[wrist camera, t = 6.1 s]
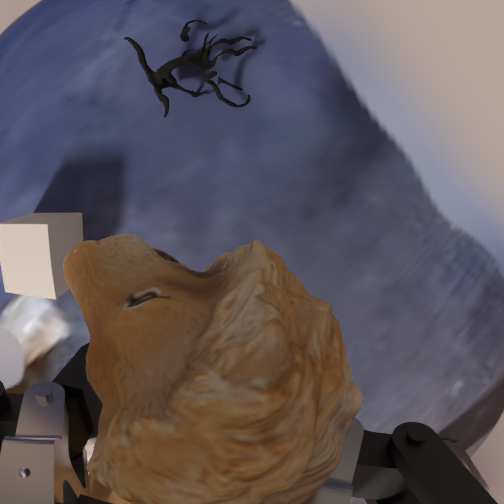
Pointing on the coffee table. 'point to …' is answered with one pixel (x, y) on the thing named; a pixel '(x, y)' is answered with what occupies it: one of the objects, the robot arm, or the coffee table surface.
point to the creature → (198, 60)
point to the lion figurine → (209, 376)
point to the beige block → (38, 252)
